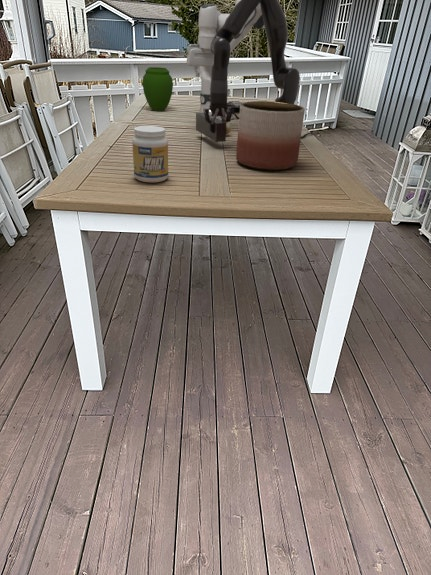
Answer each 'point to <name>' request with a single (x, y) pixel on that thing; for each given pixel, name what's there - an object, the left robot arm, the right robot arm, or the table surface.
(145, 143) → the supplement tub
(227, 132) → the seashell
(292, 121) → the planter
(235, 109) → the sign
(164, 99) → the vase
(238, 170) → the table surface
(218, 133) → the bar
